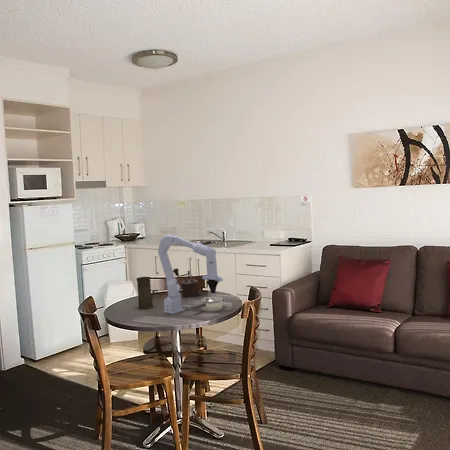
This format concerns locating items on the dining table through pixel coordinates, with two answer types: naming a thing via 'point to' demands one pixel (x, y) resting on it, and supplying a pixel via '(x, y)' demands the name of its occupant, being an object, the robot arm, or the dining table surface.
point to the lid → (212, 299)
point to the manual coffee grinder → (188, 285)
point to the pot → (210, 306)
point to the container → (144, 293)
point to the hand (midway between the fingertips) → (213, 292)
